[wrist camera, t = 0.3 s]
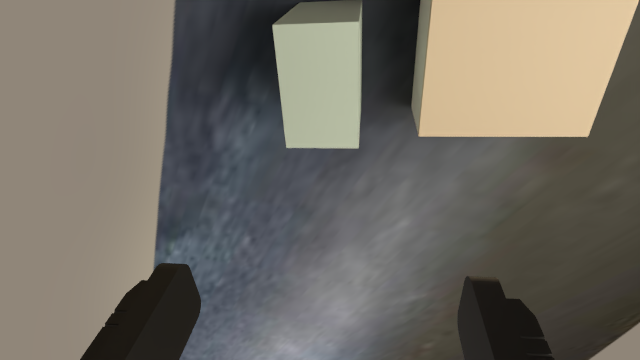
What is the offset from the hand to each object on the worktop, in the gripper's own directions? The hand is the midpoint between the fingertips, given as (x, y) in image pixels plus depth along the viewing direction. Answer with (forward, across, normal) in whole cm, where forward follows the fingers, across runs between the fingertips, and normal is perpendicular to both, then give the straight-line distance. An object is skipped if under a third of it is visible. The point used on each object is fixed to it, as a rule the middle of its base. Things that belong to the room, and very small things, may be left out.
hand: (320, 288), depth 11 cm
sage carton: (+25, +2, -1) cm, 25 cm away
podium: (+25, -11, -2) cm, 27 cm away
